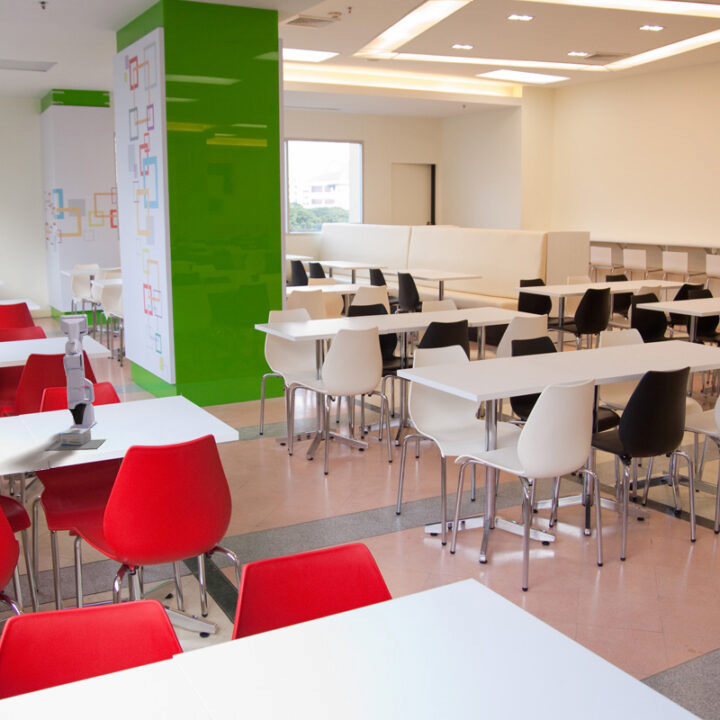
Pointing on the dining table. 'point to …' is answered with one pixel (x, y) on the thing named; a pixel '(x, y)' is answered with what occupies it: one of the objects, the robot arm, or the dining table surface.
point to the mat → (88, 445)
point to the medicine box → (75, 436)
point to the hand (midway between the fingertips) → (79, 424)
